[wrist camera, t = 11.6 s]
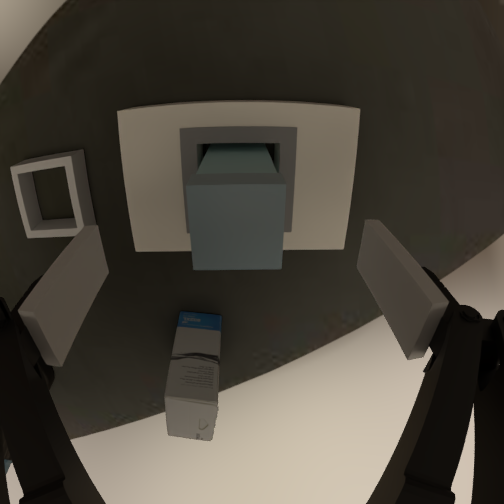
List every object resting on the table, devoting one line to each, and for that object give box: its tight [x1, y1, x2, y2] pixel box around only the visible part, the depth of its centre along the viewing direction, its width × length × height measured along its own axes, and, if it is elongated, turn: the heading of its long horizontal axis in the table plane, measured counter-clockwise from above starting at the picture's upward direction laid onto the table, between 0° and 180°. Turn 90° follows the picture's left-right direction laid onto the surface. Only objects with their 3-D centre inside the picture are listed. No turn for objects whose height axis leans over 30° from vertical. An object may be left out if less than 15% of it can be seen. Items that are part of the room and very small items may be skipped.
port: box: [117, 100, 360, 252], centre depth 25 cm, size 18×12×4 cm, turn 90°
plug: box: [186, 143, 286, 270], centre depth 21 cm, size 5×5×12 cm
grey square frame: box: [10, 149, 96, 238], centre depth 25 cm, size 8×8×2 cm
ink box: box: [164, 311, 222, 441], centre depth 31 cm, size 8×5×12 cm, turn 170°
